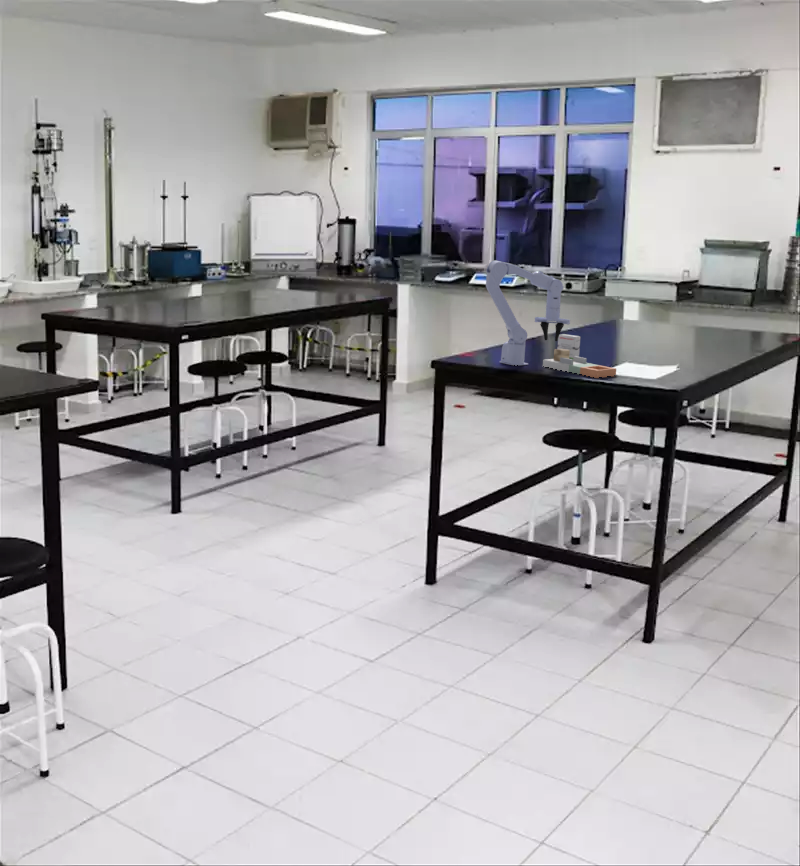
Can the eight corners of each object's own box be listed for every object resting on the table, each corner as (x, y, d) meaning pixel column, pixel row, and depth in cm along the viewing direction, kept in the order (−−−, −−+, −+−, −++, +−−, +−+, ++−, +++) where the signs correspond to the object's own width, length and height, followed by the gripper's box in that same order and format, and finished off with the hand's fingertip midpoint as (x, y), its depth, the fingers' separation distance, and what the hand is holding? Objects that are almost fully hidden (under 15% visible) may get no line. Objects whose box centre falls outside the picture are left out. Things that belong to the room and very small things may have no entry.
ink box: (579, 363, 438) (581, 335, 435) (573, 364, 434) (576, 336, 431) (561, 360, 443) (563, 333, 440) (555, 361, 439) (558, 334, 436)
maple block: (553, 360, 423) (554, 349, 422) (560, 359, 426) (561, 348, 425) (561, 361, 420) (562, 350, 419) (568, 360, 422) (569, 350, 421)
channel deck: (542, 366, 423) (543, 354, 422) (562, 365, 430) (562, 353, 429) (596, 378, 402) (597, 365, 401) (615, 375, 409) (616, 363, 408)
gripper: (533, 307, 422) (531, 340, 425) (568, 309, 417) (566, 342, 420) (538, 306, 429) (536, 338, 432) (572, 308, 423) (569, 340, 426)
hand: (551, 340), depth 426 cm, fingers open, 4 cm apart
